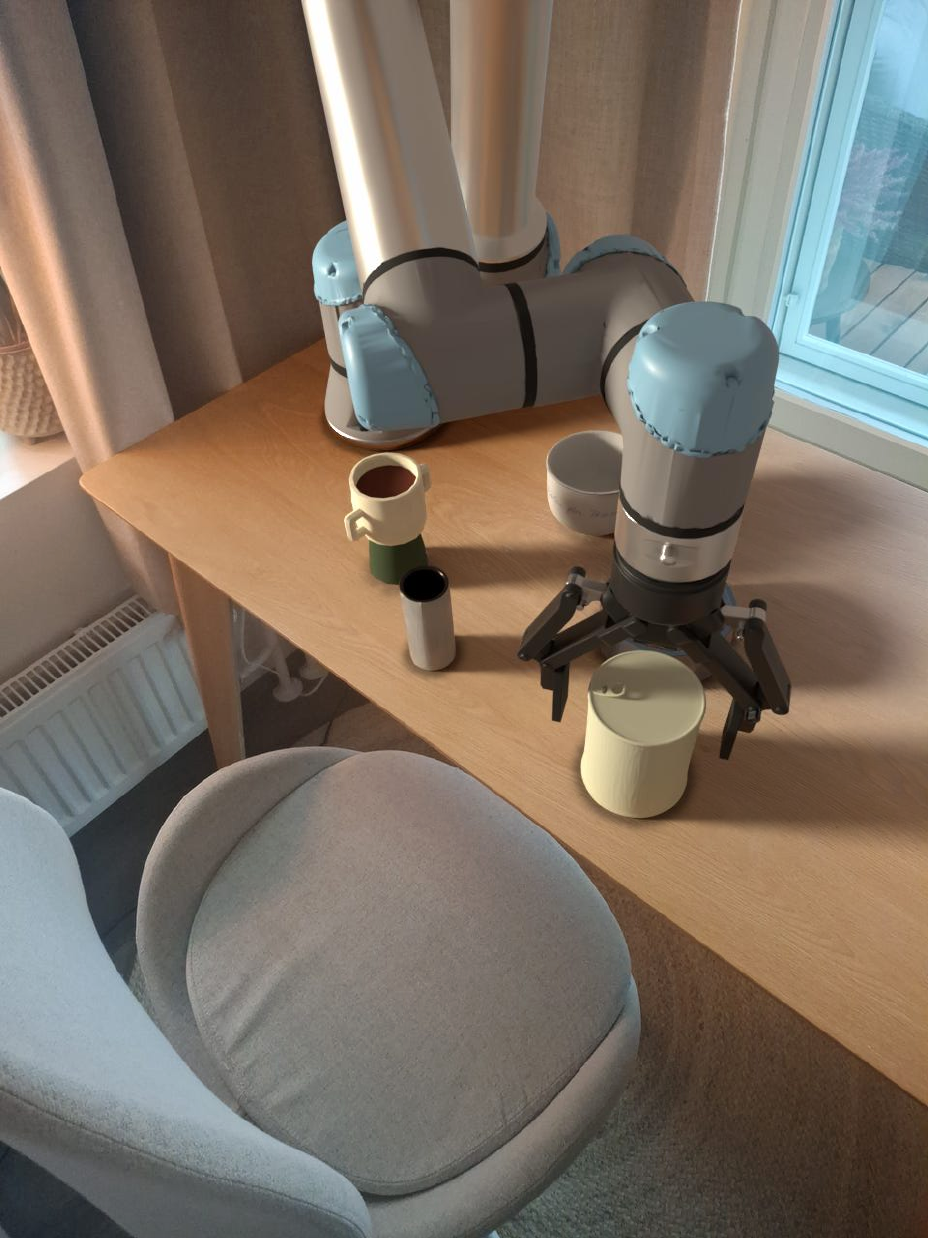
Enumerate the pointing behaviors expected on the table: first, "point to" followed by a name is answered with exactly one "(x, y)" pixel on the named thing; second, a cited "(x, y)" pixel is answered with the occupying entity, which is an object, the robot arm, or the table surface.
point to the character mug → (389, 512)
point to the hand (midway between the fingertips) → (640, 726)
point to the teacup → (585, 481)
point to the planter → (428, 617)
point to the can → (641, 732)
